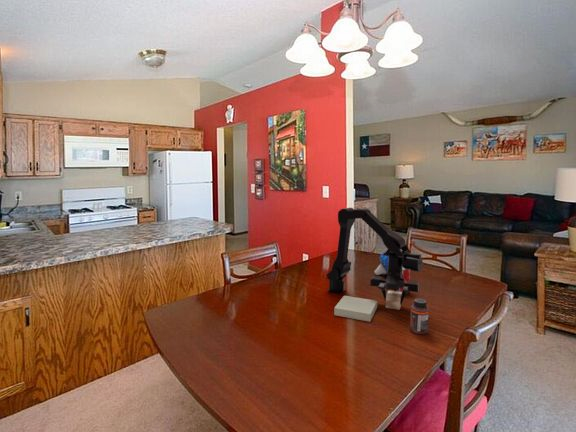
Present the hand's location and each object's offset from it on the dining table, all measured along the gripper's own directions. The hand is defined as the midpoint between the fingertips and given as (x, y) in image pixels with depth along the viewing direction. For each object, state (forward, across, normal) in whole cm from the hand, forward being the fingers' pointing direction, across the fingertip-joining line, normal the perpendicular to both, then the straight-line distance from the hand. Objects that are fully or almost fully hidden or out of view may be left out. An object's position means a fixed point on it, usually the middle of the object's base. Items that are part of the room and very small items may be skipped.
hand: (393, 303), depth 138 cm
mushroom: (+2, -8, +40) cm, 41 cm away
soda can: (+2, +1, +18) cm, 18 cm away
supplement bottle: (+2, +11, -18) cm, 21 cm away
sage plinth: (+1, -13, -11) cm, 17 cm away
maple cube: (+1, 0, 0) cm, 1 cm away
